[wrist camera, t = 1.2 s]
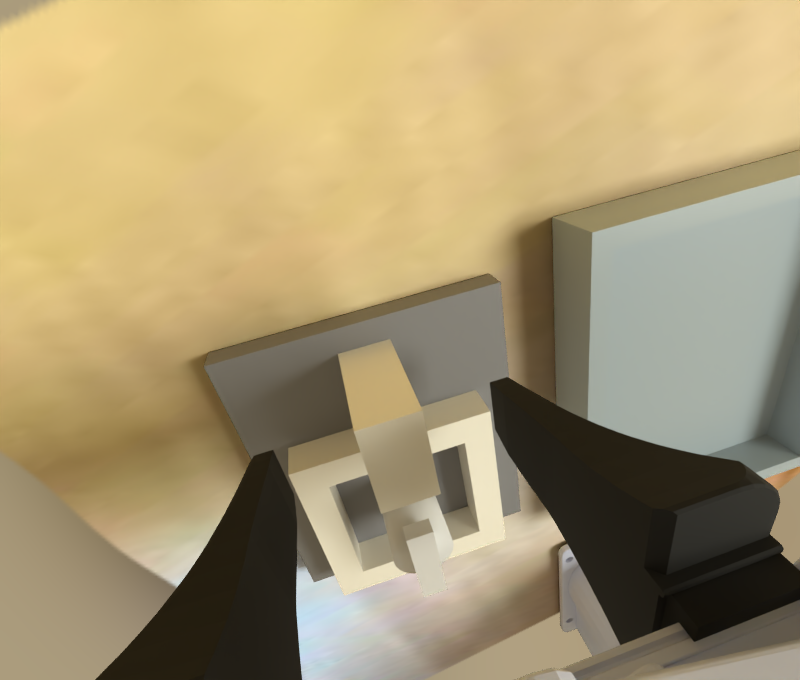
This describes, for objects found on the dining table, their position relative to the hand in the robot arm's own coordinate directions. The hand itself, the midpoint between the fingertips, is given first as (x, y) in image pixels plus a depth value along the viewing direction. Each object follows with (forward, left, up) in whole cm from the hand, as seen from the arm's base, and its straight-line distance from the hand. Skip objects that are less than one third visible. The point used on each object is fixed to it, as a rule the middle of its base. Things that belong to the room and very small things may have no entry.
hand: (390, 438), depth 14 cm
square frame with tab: (-4, 0, -3) cm, 5 cm away
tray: (-4, -15, -4) cm, 16 cm away
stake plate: (-4, 0, -4) cm, 6 cm away
